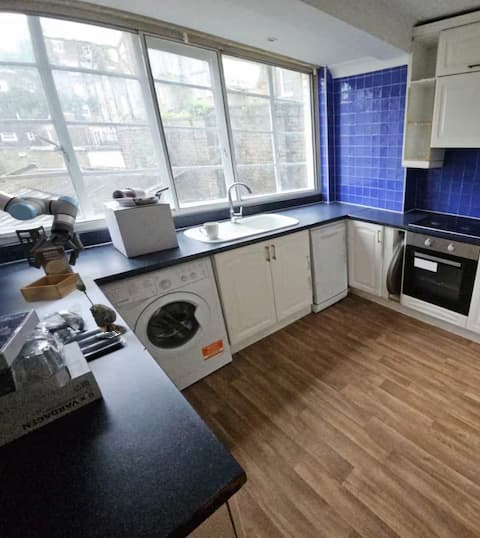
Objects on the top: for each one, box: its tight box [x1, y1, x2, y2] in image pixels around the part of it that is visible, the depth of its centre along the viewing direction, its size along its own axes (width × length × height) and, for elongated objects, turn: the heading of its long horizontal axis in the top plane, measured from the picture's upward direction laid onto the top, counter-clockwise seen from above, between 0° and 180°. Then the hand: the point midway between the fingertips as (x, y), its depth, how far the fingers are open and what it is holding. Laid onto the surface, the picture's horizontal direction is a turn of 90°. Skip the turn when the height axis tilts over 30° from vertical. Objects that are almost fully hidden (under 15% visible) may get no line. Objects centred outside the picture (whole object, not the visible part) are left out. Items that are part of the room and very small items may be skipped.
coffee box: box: [35, 244, 75, 276], centre depth 135 cm, size 9×6×16 cm
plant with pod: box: [76, 278, 128, 335], centre depth 92 cm, size 8×11×20 cm
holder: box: [15, 224, 47, 267], centre depth 157 cm, size 11×8×20 cm
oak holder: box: [19, 272, 82, 303], centre depth 125 cm, size 13×14×6 cm
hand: (54, 266), depth 133 cm, fingers open, 13 cm apart
